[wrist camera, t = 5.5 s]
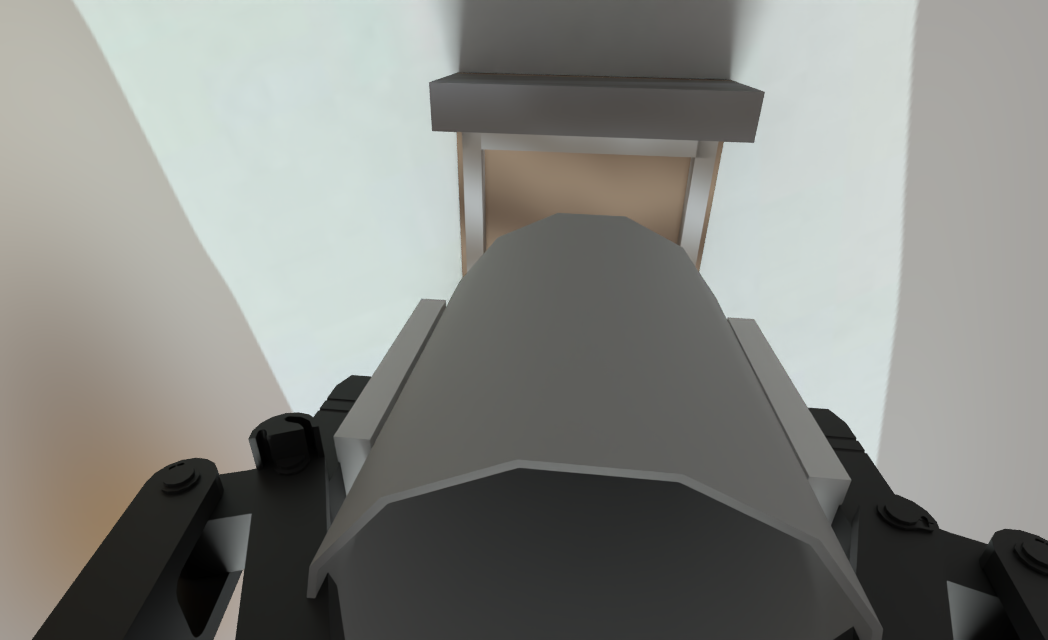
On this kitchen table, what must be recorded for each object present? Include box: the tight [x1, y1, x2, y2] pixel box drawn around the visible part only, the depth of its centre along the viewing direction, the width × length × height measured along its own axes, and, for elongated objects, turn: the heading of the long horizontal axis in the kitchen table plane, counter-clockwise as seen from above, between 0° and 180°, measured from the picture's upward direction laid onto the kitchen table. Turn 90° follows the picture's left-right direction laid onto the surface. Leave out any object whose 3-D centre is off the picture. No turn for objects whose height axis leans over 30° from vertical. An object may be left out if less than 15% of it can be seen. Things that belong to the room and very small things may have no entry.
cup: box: [307, 213, 883, 640], centre depth 12 cm, size 8×8×10 cm
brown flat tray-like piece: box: [429, 72, 765, 277], centre depth 29 cm, size 16×14×6 cm
